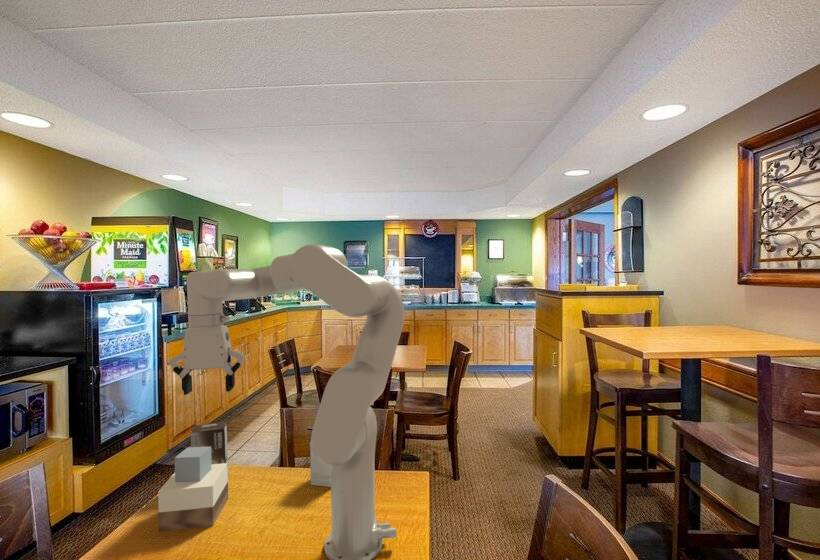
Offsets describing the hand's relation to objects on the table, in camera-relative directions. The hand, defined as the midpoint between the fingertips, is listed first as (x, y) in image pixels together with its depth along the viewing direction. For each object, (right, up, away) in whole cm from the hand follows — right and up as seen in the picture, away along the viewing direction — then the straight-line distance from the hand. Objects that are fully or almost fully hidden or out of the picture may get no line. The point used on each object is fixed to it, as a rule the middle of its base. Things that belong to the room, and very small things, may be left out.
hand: (209, 391), depth 96 cm
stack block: (-6, -22, +4) cm, 23 cm away
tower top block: (-5, -27, +3) cm, 28 cm away
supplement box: (+25, -32, +19) cm, 45 cm away
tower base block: (-5, -32, +4) cm, 33 cm away
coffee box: (-9, -32, +20) cm, 39 cm away
